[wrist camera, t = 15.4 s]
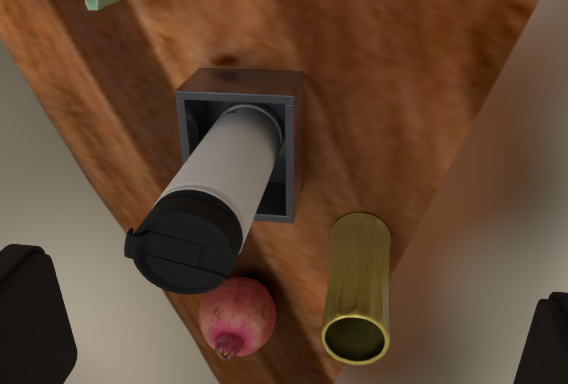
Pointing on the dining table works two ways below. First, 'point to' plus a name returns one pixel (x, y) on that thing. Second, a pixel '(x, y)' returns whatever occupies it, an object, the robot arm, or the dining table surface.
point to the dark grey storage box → (256, 89)
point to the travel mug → (209, 203)
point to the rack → (98, 4)
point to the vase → (357, 290)
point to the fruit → (237, 317)
